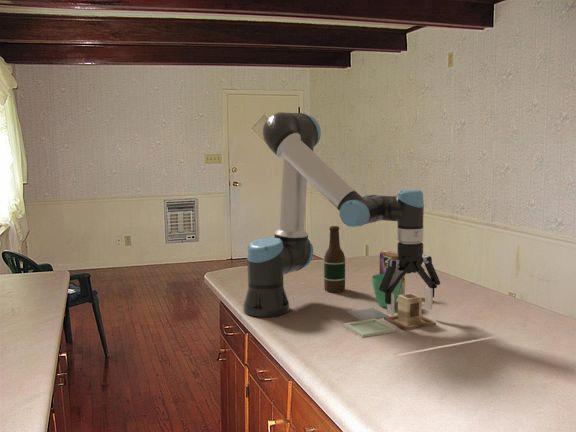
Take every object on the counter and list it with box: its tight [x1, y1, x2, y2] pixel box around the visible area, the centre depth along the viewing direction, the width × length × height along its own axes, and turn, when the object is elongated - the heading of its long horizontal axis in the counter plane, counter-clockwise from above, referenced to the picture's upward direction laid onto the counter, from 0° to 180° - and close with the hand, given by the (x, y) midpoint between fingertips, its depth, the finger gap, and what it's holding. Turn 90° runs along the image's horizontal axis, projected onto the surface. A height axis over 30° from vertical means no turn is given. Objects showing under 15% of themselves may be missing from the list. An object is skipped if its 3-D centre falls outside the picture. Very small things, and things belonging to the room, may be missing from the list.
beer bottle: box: [323, 225, 346, 294], centre depth 210 cm, size 8×8×24 cm
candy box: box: [379, 250, 406, 295], centre depth 203 cm, size 9×4×15 cm, turn 39°
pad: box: [345, 307, 389, 321], centre depth 179 cm, size 10×10×1 cm
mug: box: [371, 273, 402, 308], centre depth 191 cm, size 15×10×10 cm
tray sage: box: [343, 318, 397, 339], centre depth 166 cm, size 11×11×1 cm
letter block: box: [397, 292, 423, 326], centre depth 171 cm, size 5×5×8 cm
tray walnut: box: [383, 314, 437, 331], centre depth 171 cm, size 11×11×1 cm
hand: (409, 311), depth 171 cm, fingers open, 13 cm apart
